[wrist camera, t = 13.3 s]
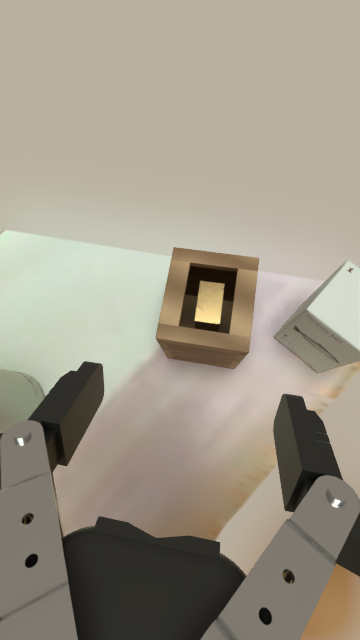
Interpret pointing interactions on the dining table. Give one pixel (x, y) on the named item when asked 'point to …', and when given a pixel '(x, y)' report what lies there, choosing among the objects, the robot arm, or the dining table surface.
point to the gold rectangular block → (209, 306)
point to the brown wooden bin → (182, 302)
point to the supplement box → (327, 322)
